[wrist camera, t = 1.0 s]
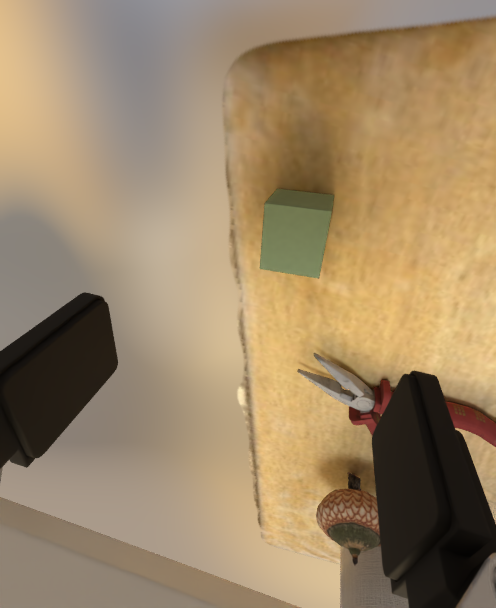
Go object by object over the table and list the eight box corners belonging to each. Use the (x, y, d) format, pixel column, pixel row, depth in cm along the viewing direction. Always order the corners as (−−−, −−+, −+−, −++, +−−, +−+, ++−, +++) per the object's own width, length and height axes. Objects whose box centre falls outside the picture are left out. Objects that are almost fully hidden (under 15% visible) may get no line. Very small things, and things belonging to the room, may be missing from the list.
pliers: (341, 319, 30) (341, 335, 28) (511, 426, 31) (523, 450, 29) (278, 383, 36) (273, 400, 34) (420, 469, 38) (424, 491, 36)
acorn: (307, 463, 43) (298, 548, 35) (360, 446, 38) (363, 539, 30) (346, 497, 44) (346, 585, 36) (401, 484, 40) (414, 582, 32)
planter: (355, 556, 52) (357, 701, 40) (328, 499, 46) (320, 651, 33) (469, 569, 46) (515, 748, 33) (456, 506, 39) (508, 698, 27)
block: (271, 247, 28) (259, 269, 24) (276, 188, 25) (264, 202, 22) (322, 255, 27) (318, 278, 23) (334, 194, 24) (331, 211, 21)
